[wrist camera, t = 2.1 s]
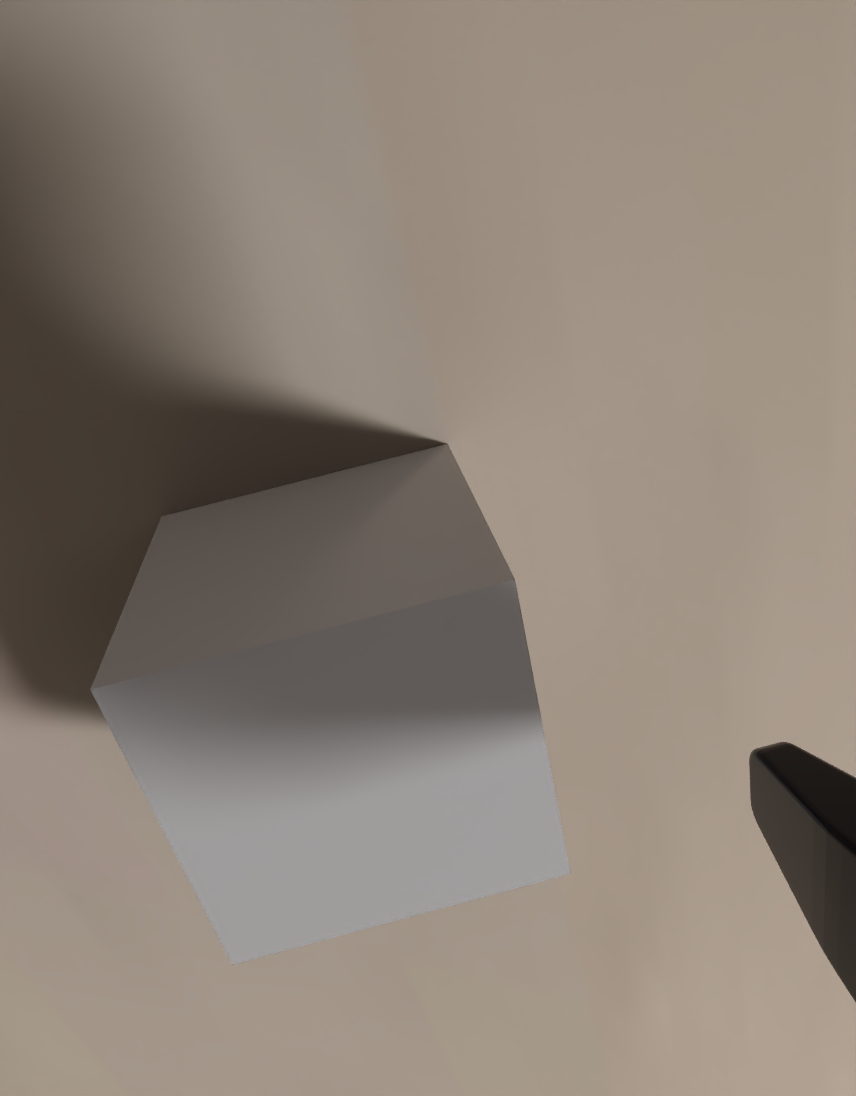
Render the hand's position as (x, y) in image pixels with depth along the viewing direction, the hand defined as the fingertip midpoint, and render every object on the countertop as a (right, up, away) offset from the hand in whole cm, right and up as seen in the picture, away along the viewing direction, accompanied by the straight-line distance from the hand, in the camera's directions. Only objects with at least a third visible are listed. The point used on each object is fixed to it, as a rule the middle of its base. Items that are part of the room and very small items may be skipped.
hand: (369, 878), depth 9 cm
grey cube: (-1, +3, +6) cm, 7 cm away
